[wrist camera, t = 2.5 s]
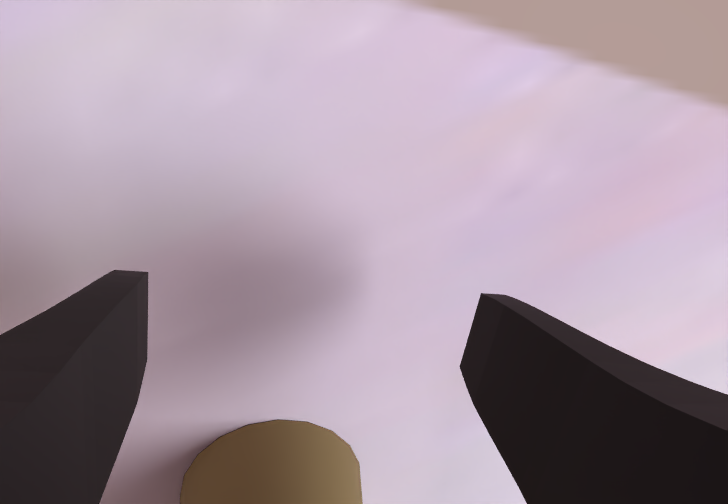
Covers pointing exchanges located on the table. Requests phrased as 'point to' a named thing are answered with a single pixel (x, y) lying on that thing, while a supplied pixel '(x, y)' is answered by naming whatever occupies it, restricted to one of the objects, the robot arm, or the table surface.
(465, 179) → the table surface
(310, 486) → the cork
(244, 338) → the table surface
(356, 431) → the table surface
